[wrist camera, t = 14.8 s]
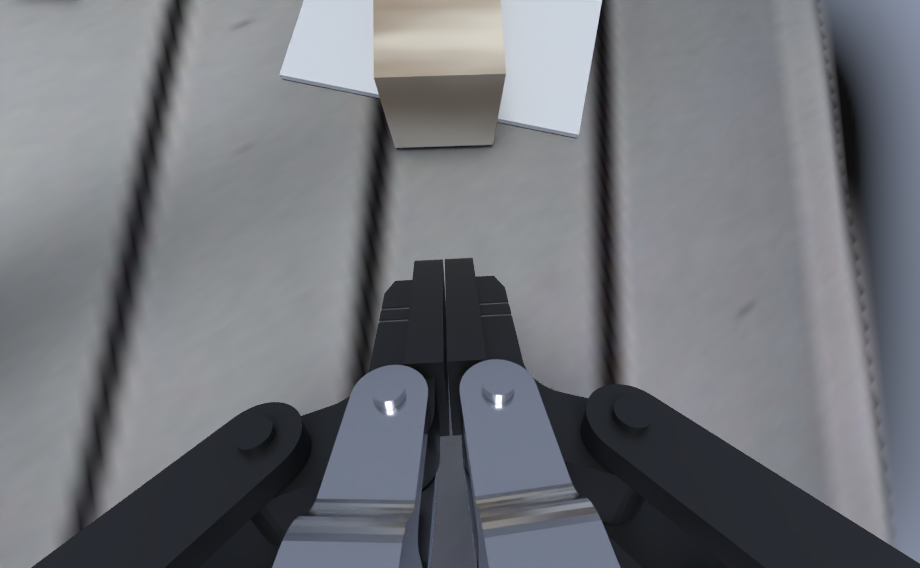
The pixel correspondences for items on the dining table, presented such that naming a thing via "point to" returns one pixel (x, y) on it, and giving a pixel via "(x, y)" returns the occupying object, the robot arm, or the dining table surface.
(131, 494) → the robot arm
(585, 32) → the mat
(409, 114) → the birch block
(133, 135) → the dining table surface
